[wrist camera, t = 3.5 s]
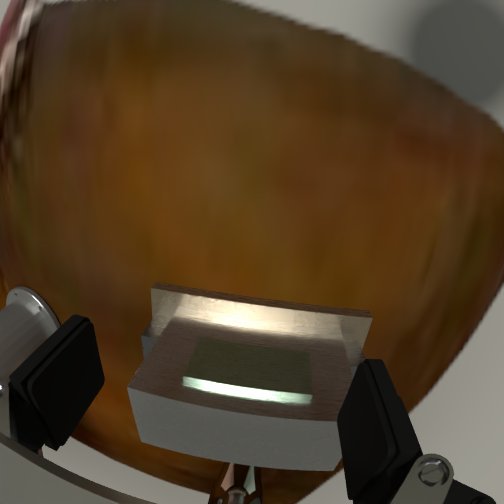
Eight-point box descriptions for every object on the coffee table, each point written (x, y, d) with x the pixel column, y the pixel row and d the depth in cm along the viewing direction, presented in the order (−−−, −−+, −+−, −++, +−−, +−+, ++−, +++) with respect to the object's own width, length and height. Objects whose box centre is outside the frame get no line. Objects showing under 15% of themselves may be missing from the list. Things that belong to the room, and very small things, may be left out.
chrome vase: (218, 433, 37) (195, 519, 23) (266, 434, 36) (255, 526, 22) (226, 456, 39) (209, 534, 25) (270, 458, 38) (261, 539, 24)
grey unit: (369, 310, 29) (409, 406, 16) (344, 382, 32) (360, 477, 19) (156, 281, 30) (87, 359, 17) (160, 356, 33) (113, 439, 21)
